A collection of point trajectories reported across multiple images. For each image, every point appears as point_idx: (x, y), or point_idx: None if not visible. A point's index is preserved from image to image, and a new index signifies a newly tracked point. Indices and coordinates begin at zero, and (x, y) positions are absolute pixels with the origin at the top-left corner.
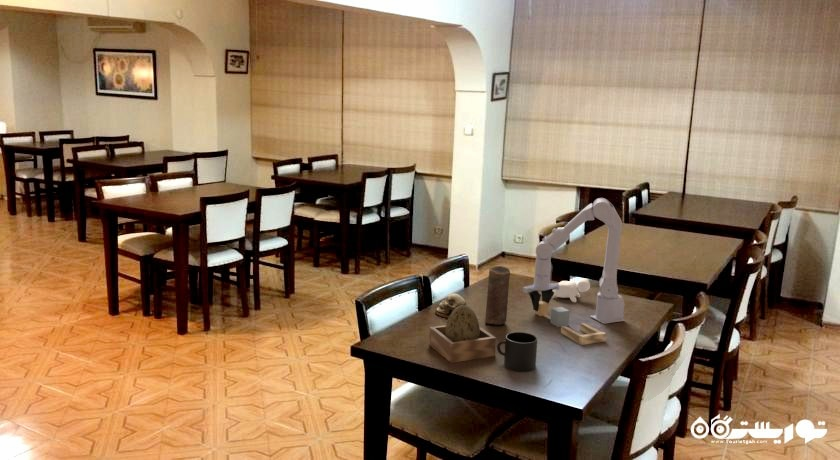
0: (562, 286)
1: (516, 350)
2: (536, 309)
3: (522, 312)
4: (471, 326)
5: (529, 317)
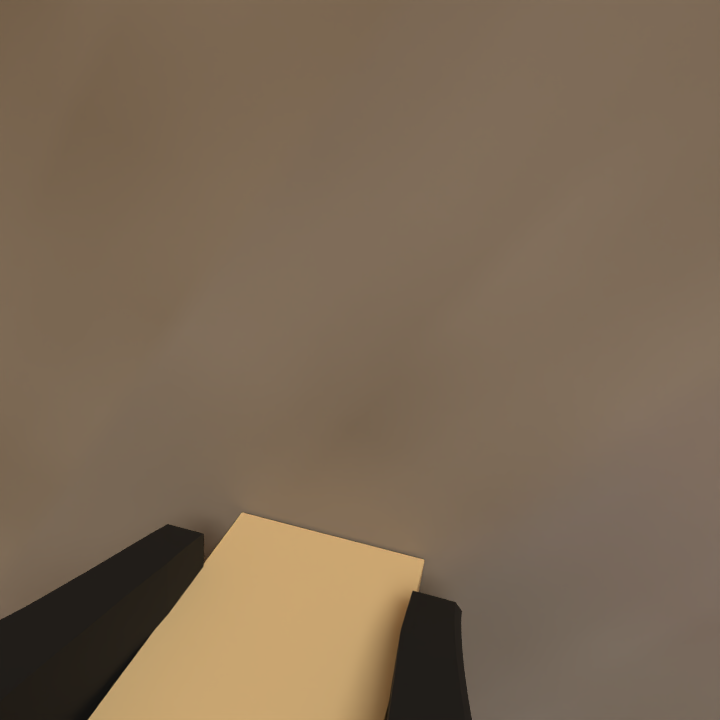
0: None
1: None
2: None
3: (33, 323)
4: None
5: (36, 576)
